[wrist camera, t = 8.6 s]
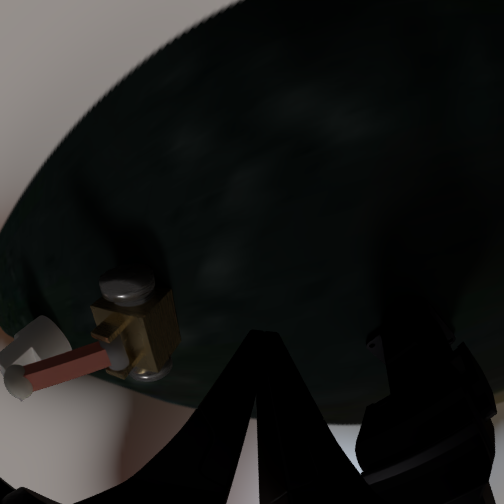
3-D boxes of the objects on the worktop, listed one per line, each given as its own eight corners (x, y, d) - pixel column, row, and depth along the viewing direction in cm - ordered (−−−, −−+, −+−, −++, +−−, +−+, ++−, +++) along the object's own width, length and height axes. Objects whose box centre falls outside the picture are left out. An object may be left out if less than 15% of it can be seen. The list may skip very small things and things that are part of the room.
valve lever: (124, 342, 20) (-3, 383, 12) (134, 369, 21) (15, 409, 14) (114, 323, 22) (-2, 361, 15) (123, 350, 23) (13, 386, 16)
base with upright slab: (76, 369, 37) (34, 414, 26) (42, 342, 38) (0, 379, 27) (69, 334, 33) (17, 382, 22) (34, 305, 34) (-17, 343, 23)
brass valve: (168, 266, 24) (117, 311, 17) (184, 356, 28) (151, 406, 21) (117, 261, 25) (64, 297, 19) (138, 344, 29) (102, 387, 22)
